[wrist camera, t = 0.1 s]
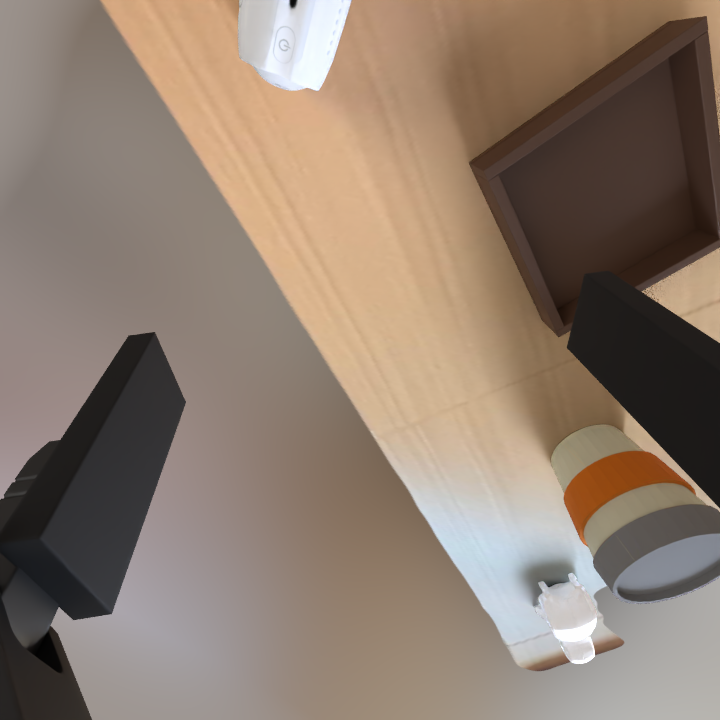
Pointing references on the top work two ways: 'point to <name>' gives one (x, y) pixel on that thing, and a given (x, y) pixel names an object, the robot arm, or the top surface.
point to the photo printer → (291, 39)
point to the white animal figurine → (569, 617)
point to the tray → (613, 174)
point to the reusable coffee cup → (636, 517)
